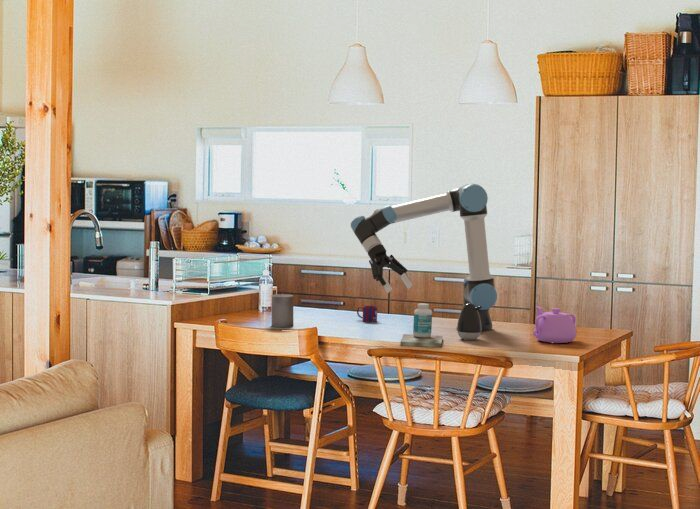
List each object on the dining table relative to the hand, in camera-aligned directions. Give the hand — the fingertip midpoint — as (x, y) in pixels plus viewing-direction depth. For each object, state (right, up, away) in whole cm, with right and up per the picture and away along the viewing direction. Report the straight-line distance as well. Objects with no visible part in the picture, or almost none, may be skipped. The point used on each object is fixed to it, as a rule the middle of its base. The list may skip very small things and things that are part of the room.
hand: (400, 289), depth 392 cm
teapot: (+63, -22, -1) cm, 66 cm away
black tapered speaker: (+28, -21, -3) cm, 35 cm away
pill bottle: (+8, -19, -9) cm, 23 cm away
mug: (-13, -17, +46) cm, 51 cm away
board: (+8, -21, -14) cm, 26 cm away
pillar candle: (-51, -17, +24) cm, 59 cm away
